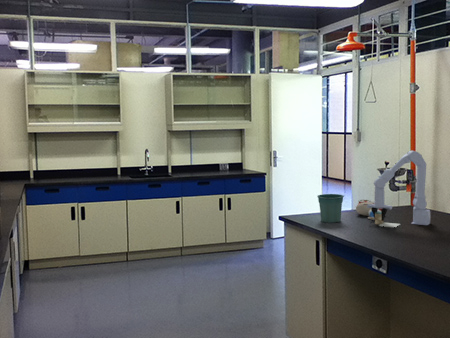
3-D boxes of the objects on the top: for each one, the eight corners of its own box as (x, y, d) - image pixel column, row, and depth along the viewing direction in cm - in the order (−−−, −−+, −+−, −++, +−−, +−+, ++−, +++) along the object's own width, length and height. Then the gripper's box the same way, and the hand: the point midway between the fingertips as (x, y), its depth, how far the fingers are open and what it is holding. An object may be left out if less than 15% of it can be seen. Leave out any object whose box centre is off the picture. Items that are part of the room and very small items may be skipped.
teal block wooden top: (383, 222, 308) (383, 211, 308) (380, 224, 304) (380, 213, 303) (378, 222, 310) (378, 211, 310) (375, 224, 306) (375, 212, 305)
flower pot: (333, 224, 307) (333, 198, 305) (312, 221, 319) (311, 196, 318) (349, 220, 318) (349, 195, 316) (327, 217, 330) (327, 193, 329)
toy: (359, 209, 313) (355, 197, 342) (358, 225, 315) (353, 211, 344) (390, 212, 311) (383, 199, 340) (388, 228, 313) (381, 214, 342)
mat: (400, 224, 302) (400, 223, 302) (395, 227, 294) (395, 226, 294) (383, 223, 308) (383, 222, 307) (378, 226, 299) (378, 225, 299)
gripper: (393, 198, 305) (393, 220, 306) (369, 196, 313) (369, 218, 314) (390, 199, 299) (390, 222, 300) (366, 198, 307) (366, 220, 308)
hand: (379, 220), depth 307 cm, fingers closed on teal block wooden top, 3 cm apart
